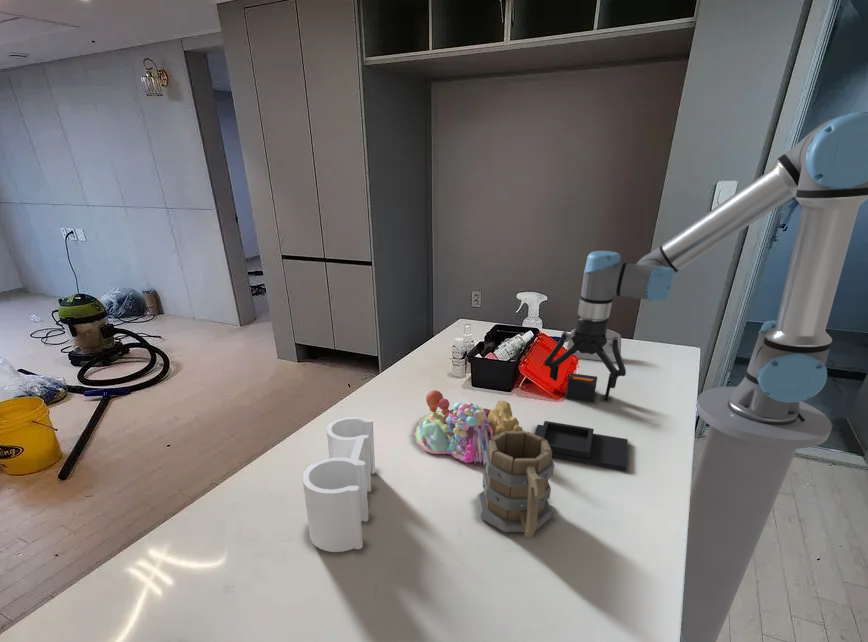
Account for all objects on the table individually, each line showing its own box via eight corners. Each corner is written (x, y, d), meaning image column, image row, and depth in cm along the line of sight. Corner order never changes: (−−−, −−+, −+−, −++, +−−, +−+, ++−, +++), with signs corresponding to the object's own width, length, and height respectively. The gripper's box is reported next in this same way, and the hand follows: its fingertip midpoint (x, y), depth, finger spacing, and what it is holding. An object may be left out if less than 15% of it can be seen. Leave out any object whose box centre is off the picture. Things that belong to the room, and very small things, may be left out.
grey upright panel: (563, 356, 160) (569, 324, 159) (564, 356, 165) (569, 324, 163) (620, 362, 155) (625, 329, 154) (619, 362, 160) (625, 330, 158)
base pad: (626, 442, 114) (629, 433, 113) (626, 471, 105) (628, 460, 103) (537, 427, 121) (538, 418, 119) (528, 453, 111) (529, 443, 109)
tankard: (475, 489, 99) (479, 422, 92) (539, 489, 99) (549, 421, 92) (488, 563, 82) (495, 487, 74) (567, 563, 82) (581, 487, 74)
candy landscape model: (513, 412, 127) (516, 379, 123) (534, 464, 107) (539, 426, 102) (413, 414, 127) (413, 380, 122) (415, 467, 106) (415, 428, 102)
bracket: (333, 467, 106) (328, 416, 100) (379, 468, 106) (377, 417, 100) (303, 551, 84) (294, 492, 79) (361, 553, 84) (357, 493, 78)
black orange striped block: (594, 391, 138) (597, 375, 136) (593, 402, 132) (596, 385, 130) (568, 388, 140) (570, 372, 138) (565, 398, 134) (568, 381, 132)
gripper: (647, 318, 125) (629, 395, 135) (544, 307, 133) (534, 381, 143) (647, 327, 119) (629, 407, 129) (539, 315, 126) (530, 392, 137)
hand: (579, 394), depth 136 cm, fingers open, 13 cm apart
